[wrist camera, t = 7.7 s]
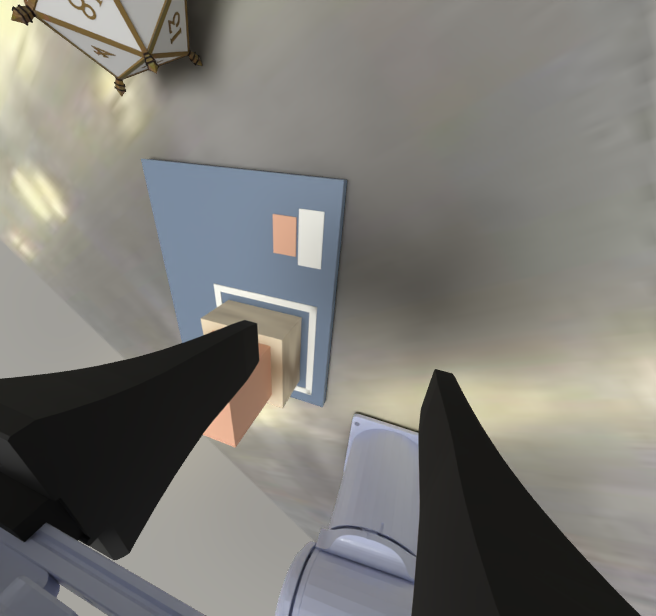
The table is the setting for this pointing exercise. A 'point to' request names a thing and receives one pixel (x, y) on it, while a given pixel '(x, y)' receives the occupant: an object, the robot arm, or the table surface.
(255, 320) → the beech block
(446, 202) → the table surface
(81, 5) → the game die
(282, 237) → the board
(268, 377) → the terracotta cube
